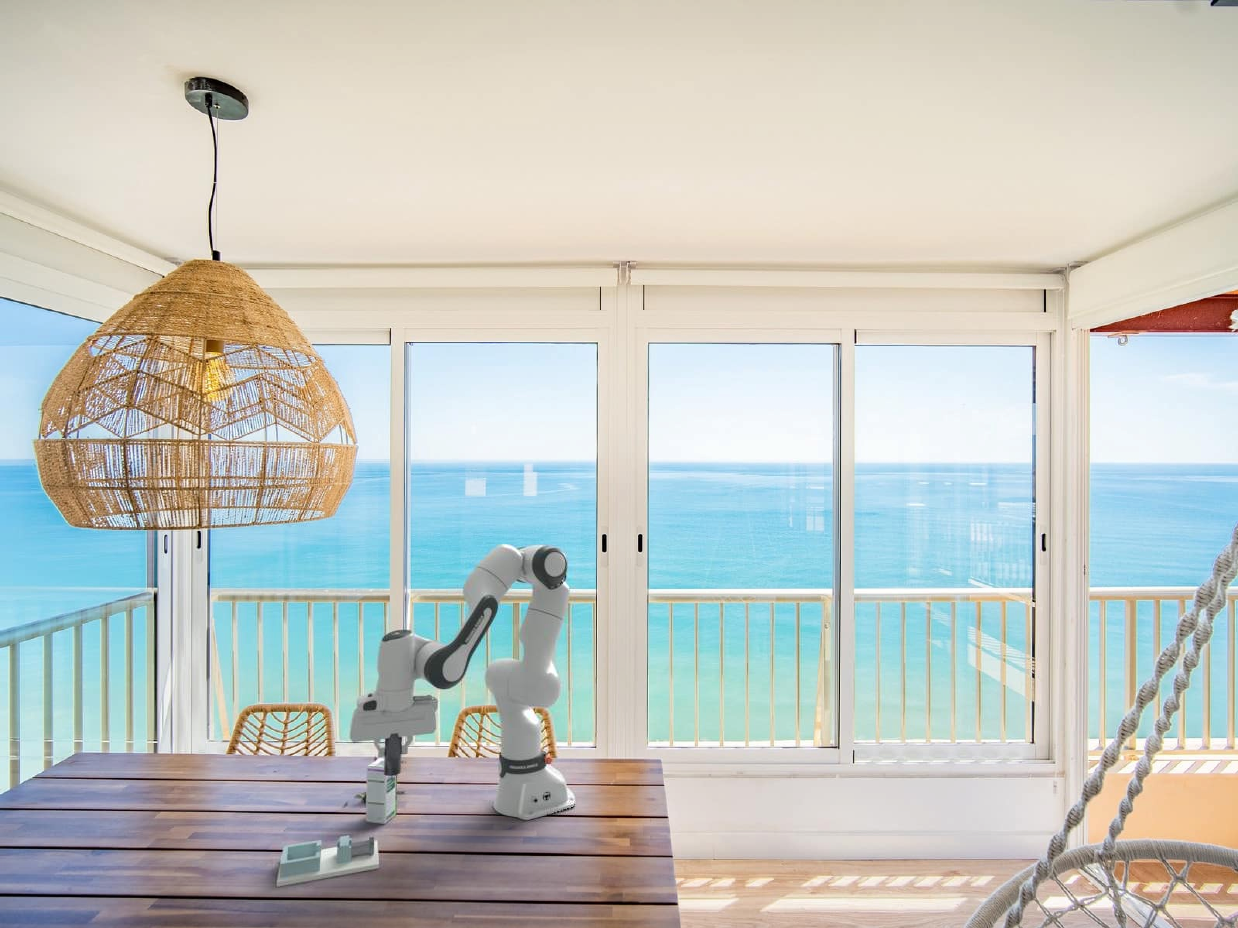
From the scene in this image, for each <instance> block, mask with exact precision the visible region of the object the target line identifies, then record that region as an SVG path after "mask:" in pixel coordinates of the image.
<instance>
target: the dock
mask: <svg viewBox="0 0 1238 928" xmlns="http://www.w3.org/2000/svg"><path fill="white" fill-rule="evenodd" d="M336 842H337V844H336V845H340V848H337V846H334V847H330V848H329V847H328V848H323V849H322V839H317V840H313V841H306V842H299V843H293V844H287V845H283V847H282V848H283V849H282V854H281V857H280V863H279V868H278V874H277V879H276V888H278V887H283V886H289V885H295V884H300V883H307V882H311V881H316V880H323V879H327V878H332V877H338V876H345V875H350V874H355V873H360V872H365V871H373V870H377V869H380V860H379V859H380V857H379V846H378V839H377V840H374V854H373V855H369V854H363V855H357V856H352V857H351V846H349V843H352V837H350V835H344V836H340V837H339V839H338V840H337V841H336Z"/></svg>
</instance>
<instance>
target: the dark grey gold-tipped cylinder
mask: <svg viewBox="0 0 1238 928" xmlns="http://www.w3.org/2000/svg"><path fill="white" fill-rule="evenodd" d="M402 745H403V737H399V736H398V733H395V734H391V735H390V738H386V739H384V748H385V756H384V757H383V758H384V775H386V776H394V775H397V776H398V775H400V774H401V773H402V755H401V752H402Z"/></svg>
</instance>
